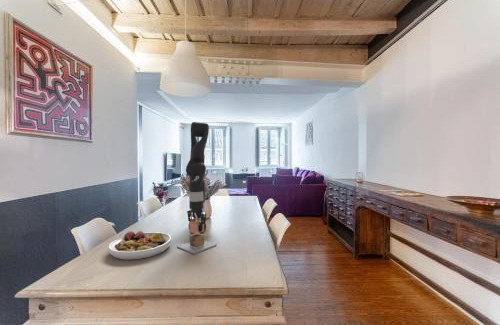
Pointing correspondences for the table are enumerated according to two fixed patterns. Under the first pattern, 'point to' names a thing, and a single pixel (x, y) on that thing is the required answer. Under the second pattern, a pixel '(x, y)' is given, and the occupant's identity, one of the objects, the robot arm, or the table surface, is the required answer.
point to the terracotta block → (194, 227)
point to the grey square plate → (198, 249)
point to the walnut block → (196, 240)
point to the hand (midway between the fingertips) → (196, 230)
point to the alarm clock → (200, 232)
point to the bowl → (139, 245)
